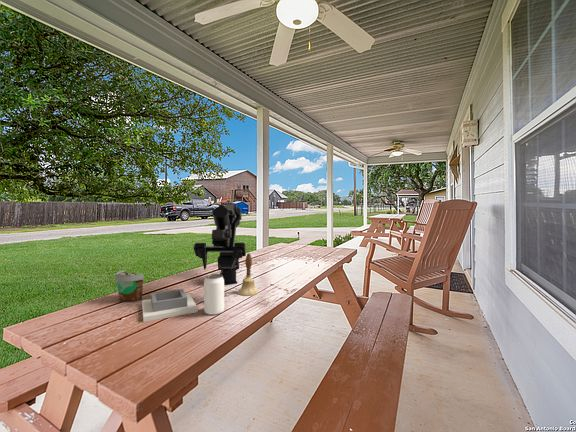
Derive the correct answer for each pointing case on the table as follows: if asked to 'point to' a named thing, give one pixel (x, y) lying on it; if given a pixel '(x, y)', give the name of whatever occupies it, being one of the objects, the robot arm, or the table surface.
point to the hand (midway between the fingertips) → (217, 269)
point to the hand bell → (248, 280)
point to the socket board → (168, 305)
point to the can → (214, 294)
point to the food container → (129, 286)
